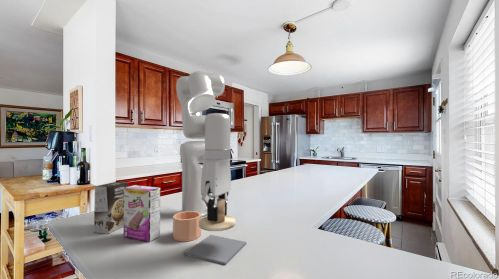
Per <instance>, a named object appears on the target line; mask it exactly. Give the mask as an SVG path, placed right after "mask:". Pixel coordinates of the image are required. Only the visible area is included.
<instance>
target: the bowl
mask: <svg viewBox="0 0 499 279" xmlns="http://www.w3.org/2000/svg"><path fill="white" fill-rule="evenodd" d="M202 218H203V217H202V214H201V213H200V212H196V211H185V212H180V213H178V212H176V213H175V214H174V215H173V216H172V237H173V240H174V241H177V242H183V243H185V242H187V243H188V242H192V241H194V240H198V239H199V238H200V237H201V236H202V229H201V228H200V227H199V220H200V219H202Z"/></svg>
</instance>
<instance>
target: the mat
mask: <svg viewBox="0 0 499 279" xmlns="http://www.w3.org/2000/svg"><path fill="white" fill-rule="evenodd" d="M246 245H247V241H245V240H239V239H234V238H229V237H223V236H218V235H215V234H214V235H213V234H210V235H208V236H206V237H205V238H204V239H202V240H201V241H199V242H198V243H196V244H195V245H193V246H192V247H190V248H189V249H188V250H186V251H185V252H184V255H186V256H189V257H192V258H197V259H201V260H204V261H209V262H213V263H217V264H219V265H223V266H226V265H227V264H228V263H229V262H230V261H231V260H232V259H233V258H234V257H235V256H236V255H237V254H238V253H239V252H240V251H241V250H242V249H243V248H244V247H245V246H246Z"/></svg>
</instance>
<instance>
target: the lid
mask: <svg viewBox="0 0 499 279" xmlns="http://www.w3.org/2000/svg"><path fill="white" fill-rule="evenodd" d="M211 199H212V201H213V199H214V198H211ZM216 207H218V221H216V222H215V221H209V220H207V216H203V217H202V219H200V220H199V227H200V228H201V230H203V231H208V232H222V231H228V230H230V229H232V228H234V227H235V226H236V219H235V218H234V217H233V216H230V215H228V214H227V215H226V216H225V200H224V199H220V198H217V206H216Z"/></svg>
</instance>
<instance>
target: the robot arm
mask: <svg viewBox="0 0 499 279" xmlns="http://www.w3.org/2000/svg"><path fill="white" fill-rule="evenodd" d="M225 86H226V82H225V78H224V77H223V76H222V74H219V73H215V72H208V71H207V72H206V71H193V72H191V73H190V74H189V75H187V76H180V77H178V79H177V80H176V87H175V88H176V95H177V99H178V102H179V103H180V106H181V121H182V123H181V124H182V132H183V135H184V137H185V138H187V139H191V140H189V141H185V142H183V143H182V144H181V146H180V148H179V154H180V160H181V170H182V171H181V172H182V175H181V177H182V178H181V179H182V180H181V182H182V183H181V184H182V186H181V187H182V188H181V189H182V190H181V191H182V192H181V209H180V210H178V212H177V213H180V212H185V211H196V212H200V213H201V214H202V218H204V217H207V220H209V221H215V222H216V221H218V207H216V206H217V198H220V199H224V200H225V216H226V215H227V216H228V214H227V213H228V204H227V203H228V200H229V199H228V196H229V193H230V191H231V187H232V173H231V163H230V161H231V117H230V115H228V114H227V113H219V112H218V113H217V112H215V113H208V114H207V115H206V114H205V115H202V113H203V111H206V110H209V109H210V108H211V107H213V106H214V104H215V102H216V97H219V96H221V95H222V94H223V93H224V92H225ZM201 139H202V140H203V141H202V140H201ZM200 164H202V167H201V165H200ZM212 199H213V201H212Z"/></svg>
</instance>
